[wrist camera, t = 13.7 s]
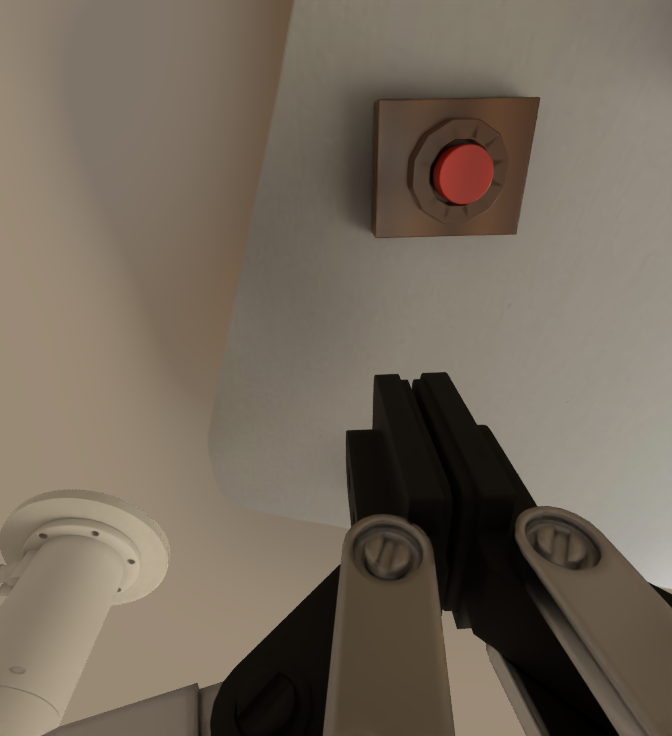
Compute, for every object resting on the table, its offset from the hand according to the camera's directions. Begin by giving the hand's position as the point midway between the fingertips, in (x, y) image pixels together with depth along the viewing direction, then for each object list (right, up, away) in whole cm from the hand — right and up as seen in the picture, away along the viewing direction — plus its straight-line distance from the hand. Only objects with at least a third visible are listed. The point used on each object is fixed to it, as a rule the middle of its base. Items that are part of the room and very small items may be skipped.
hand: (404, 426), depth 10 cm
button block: (+7, +17, +22) cm, 29 cm away
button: (+7, +15, +19) cm, 25 cm away
